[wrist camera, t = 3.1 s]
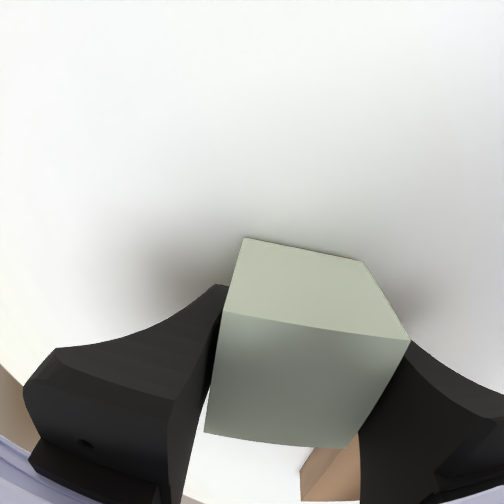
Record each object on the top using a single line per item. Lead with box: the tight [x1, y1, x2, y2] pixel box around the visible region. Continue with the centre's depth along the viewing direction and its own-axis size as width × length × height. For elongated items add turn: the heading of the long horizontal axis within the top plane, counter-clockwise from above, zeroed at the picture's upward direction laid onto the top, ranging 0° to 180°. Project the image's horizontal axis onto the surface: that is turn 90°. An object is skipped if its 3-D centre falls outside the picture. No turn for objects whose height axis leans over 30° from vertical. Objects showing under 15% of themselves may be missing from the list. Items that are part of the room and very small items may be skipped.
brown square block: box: [300, 432, 361, 501], centre depth 15 cm, size 9×9×3 cm
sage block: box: [204, 238, 411, 449], centre depth 10 cm, size 4×4×5 cm
